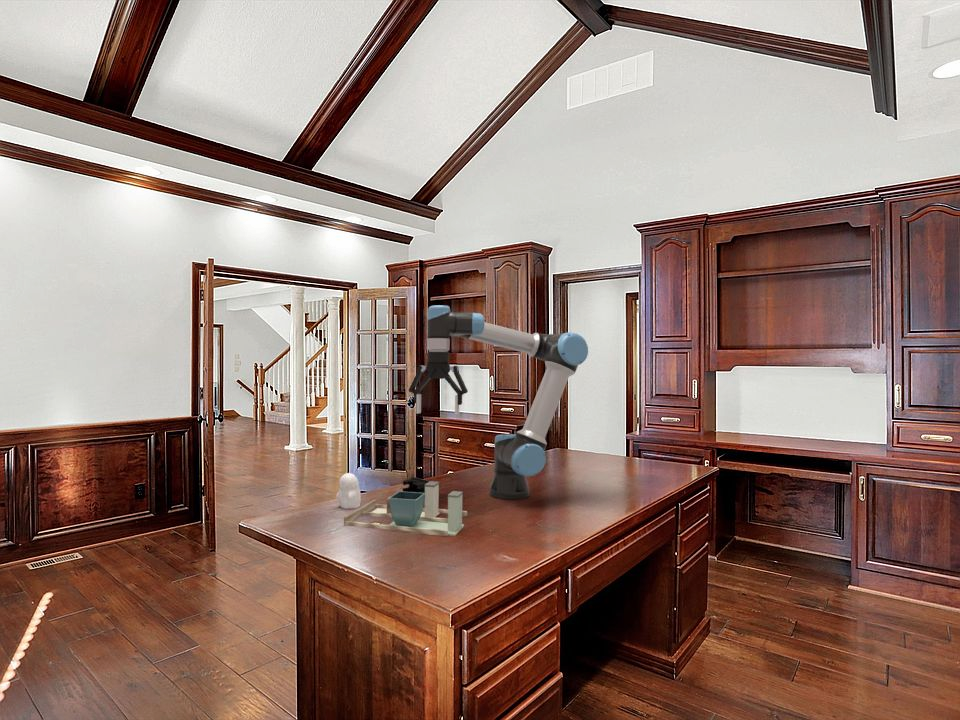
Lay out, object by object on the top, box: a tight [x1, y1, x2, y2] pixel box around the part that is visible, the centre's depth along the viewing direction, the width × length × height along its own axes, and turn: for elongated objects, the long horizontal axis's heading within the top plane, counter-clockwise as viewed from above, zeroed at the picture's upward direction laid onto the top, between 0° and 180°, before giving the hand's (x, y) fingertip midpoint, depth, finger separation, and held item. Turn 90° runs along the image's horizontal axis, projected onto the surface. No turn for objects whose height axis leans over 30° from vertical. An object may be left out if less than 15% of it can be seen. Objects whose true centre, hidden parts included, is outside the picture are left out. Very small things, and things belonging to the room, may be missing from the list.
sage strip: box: [388, 490, 465, 537], centre depth 170 cm, size 22×10×11 cm, turn 76°
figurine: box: [336, 472, 362, 510], centre depth 191 cm, size 7×8×12 cm
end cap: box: [402, 476, 430, 499], centre depth 207 cm, size 10×7×7 cm
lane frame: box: [343, 499, 468, 537], centre depth 176 cm, size 33×22×3 cm
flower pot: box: [389, 490, 425, 527], centre depth 171 cm, size 9×9×9 cm
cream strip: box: [371, 480, 441, 518], centre depth 183 cm, size 22×8×11 cm, turn 76°
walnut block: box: [386, 495, 392, 514], centre depth 184 cm, size 5×5×5 cm
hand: (437, 414), depth 190 cm, fingers open, 13 cm apart
